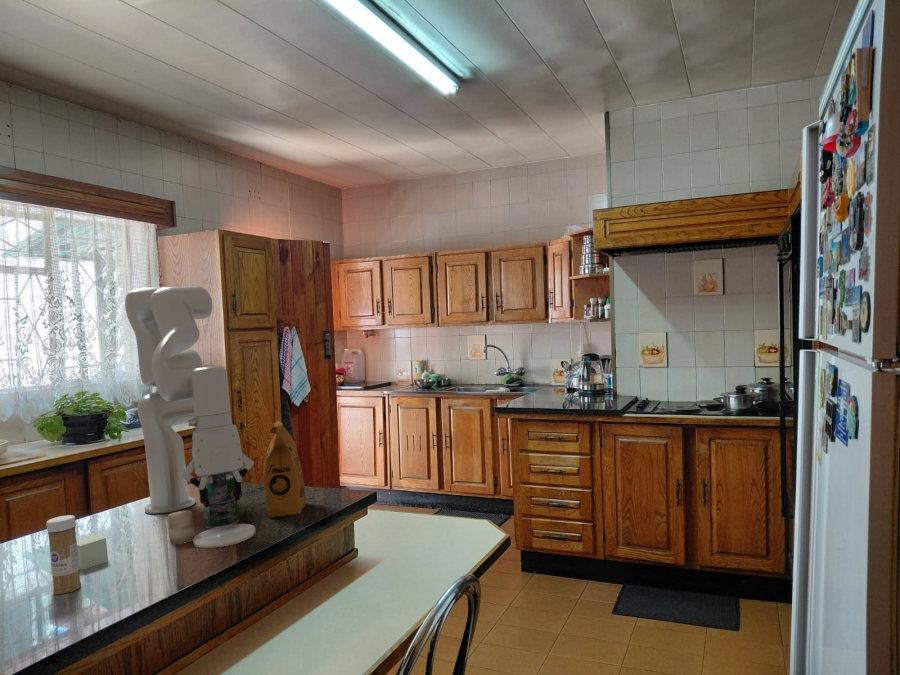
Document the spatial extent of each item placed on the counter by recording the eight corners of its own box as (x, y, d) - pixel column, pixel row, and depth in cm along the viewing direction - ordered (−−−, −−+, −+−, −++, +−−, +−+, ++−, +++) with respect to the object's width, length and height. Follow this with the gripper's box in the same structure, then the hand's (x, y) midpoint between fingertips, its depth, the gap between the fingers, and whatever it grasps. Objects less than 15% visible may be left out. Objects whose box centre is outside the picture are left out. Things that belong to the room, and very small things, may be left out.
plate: (189, 538, 143) (188, 533, 143) (247, 524, 150) (247, 519, 150) (199, 553, 132) (198, 547, 132) (262, 537, 138) (261, 532, 138)
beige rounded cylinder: (168, 540, 142) (166, 514, 142) (192, 535, 145) (189, 509, 145) (171, 546, 138) (169, 519, 138) (196, 540, 141) (193, 513, 141)
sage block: (72, 566, 131) (70, 542, 131) (98, 557, 135) (95, 534, 135) (82, 570, 128) (80, 545, 128) (108, 561, 132) (105, 538, 132)
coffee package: (261, 520, 152) (252, 429, 152) (269, 506, 164) (261, 422, 164) (303, 515, 153) (294, 424, 153) (308, 501, 166) (300, 418, 165)
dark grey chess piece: (209, 515, 142) (203, 462, 142) (236, 510, 144) (231, 457, 144) (208, 521, 137) (203, 466, 136) (237, 516, 139) (232, 462, 139)
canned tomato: (225, 528, 148) (220, 482, 148) (197, 528, 150) (193, 482, 150) (246, 518, 155) (242, 473, 155) (219, 517, 158) (215, 473, 158)
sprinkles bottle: (47, 596, 115) (40, 522, 115) (63, 585, 120) (56, 515, 120) (72, 594, 115) (65, 520, 115) (87, 583, 120) (80, 513, 119)
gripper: (174, 429, 133) (182, 515, 133) (257, 417, 141) (265, 497, 142) (169, 426, 139) (177, 508, 139) (249, 414, 148) (256, 491, 148)
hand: (221, 501), depth 140 cm, fingers closed on dark grey chess piece, 5 cm apart
